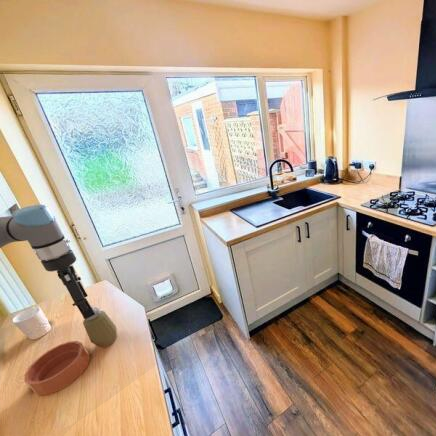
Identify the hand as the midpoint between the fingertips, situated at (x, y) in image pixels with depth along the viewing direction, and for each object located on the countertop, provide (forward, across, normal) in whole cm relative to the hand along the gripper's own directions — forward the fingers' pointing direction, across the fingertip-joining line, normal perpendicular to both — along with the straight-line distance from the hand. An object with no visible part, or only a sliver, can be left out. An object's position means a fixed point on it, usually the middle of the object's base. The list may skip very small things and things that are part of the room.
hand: (86, 306), depth 84 cm
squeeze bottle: (+17, 0, 0) cm, 17 cm away
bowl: (+17, -3, +13) cm, 22 cm away
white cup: (+18, +28, +18) cm, 37 cm away
